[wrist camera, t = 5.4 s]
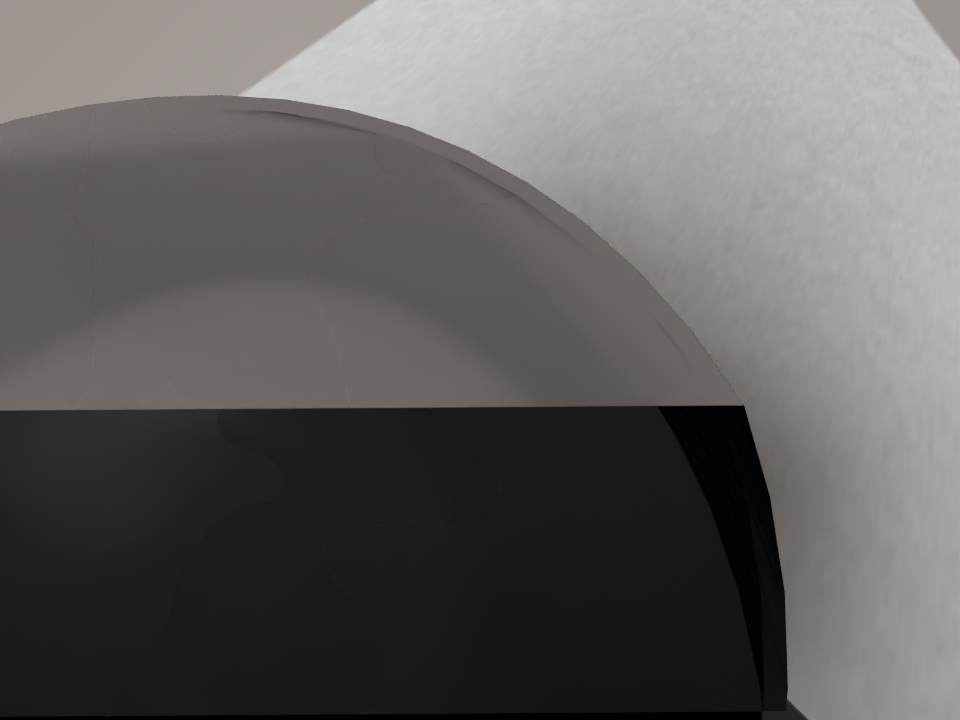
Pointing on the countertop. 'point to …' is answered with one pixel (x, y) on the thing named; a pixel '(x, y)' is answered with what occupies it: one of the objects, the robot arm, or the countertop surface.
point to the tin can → (354, 439)
